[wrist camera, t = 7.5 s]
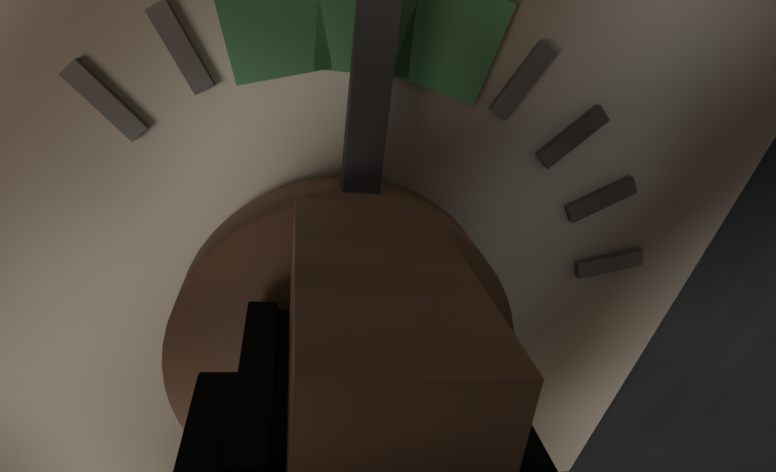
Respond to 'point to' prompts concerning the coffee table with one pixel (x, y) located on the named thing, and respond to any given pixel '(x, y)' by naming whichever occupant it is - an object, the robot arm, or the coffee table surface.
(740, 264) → the coffee table surface
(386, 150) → the dial board
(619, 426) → the coffee table surface
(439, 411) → the knob
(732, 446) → the coffee table surface
